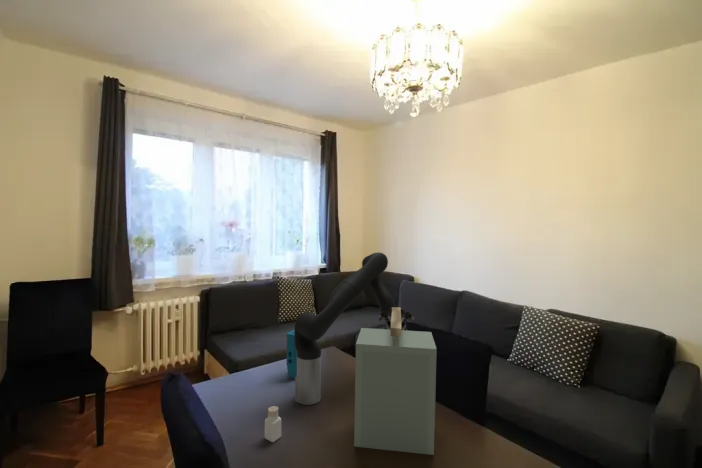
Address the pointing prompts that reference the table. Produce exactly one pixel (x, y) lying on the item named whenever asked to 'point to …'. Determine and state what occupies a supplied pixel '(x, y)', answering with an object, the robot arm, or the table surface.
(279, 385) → the table surface
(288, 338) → the block
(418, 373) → the tall sage green box
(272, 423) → the salt shaker
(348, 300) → the robot arm
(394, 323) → the slat
